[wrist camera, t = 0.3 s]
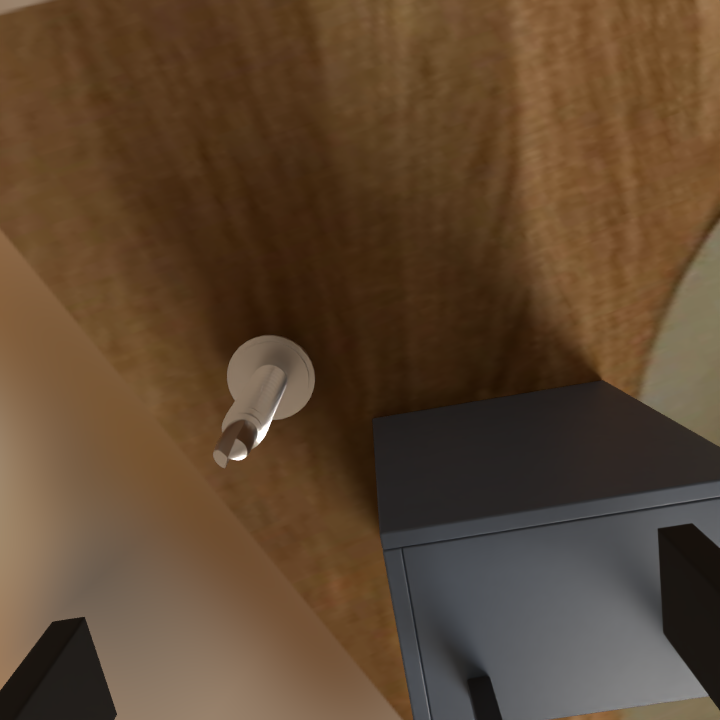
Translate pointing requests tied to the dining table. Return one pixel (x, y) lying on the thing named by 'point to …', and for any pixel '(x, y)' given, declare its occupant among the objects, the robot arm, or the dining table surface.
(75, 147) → the dining table surface
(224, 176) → the dining table surface
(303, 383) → the white chess piece
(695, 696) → the handled storage bin
